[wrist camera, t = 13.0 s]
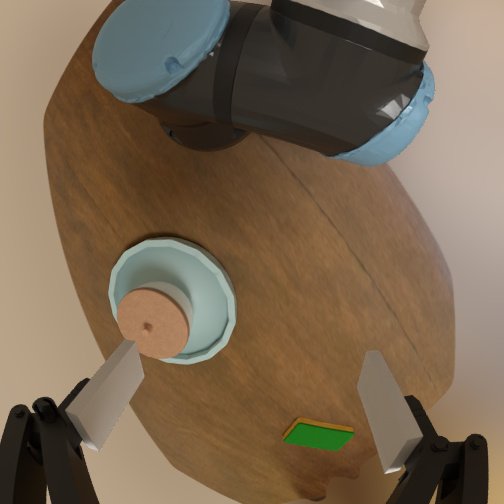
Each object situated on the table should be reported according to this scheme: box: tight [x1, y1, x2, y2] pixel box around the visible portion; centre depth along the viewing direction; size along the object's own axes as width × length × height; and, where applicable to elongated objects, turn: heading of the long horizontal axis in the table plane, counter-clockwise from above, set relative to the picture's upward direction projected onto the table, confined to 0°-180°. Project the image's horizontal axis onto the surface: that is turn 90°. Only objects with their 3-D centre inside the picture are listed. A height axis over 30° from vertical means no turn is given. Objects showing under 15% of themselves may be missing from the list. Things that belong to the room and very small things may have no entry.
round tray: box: [108, 237, 237, 364], centre depth 41 cm, size 21×21×2 cm
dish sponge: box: [284, 417, 354, 451], centre depth 47 cm, size 7×14×2 cm, turn 68°
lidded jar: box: [117, 281, 194, 359], centre depth 37 cm, size 11×11×9 cm
